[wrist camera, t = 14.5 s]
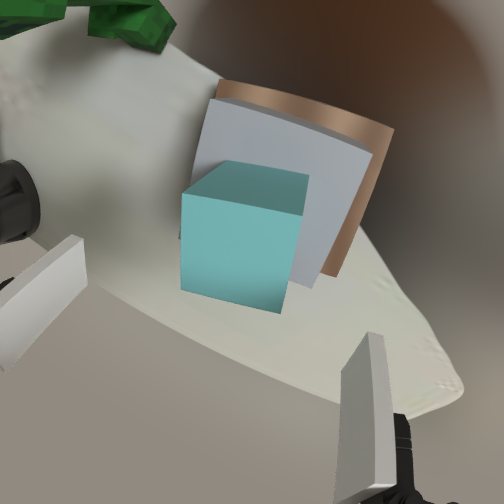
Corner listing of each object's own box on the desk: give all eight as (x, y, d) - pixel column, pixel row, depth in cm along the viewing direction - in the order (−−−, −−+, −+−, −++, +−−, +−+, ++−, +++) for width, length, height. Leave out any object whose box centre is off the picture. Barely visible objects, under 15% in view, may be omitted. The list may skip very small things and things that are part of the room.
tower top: (202, 213, 31) (178, 238, 26) (233, 97, 25) (210, 98, 20) (314, 254, 31) (311, 288, 26) (362, 142, 24) (372, 154, 19)
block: (220, 232, 25) (180, 289, 18) (227, 159, 22) (181, 193, 15) (294, 248, 24) (280, 313, 17) (309, 175, 21) (302, 216, 14)
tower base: (209, 211, 38) (190, 231, 33) (236, 81, 29) (219, 78, 24) (335, 250, 36) (336, 277, 31) (381, 123, 28) (394, 129, 23)
